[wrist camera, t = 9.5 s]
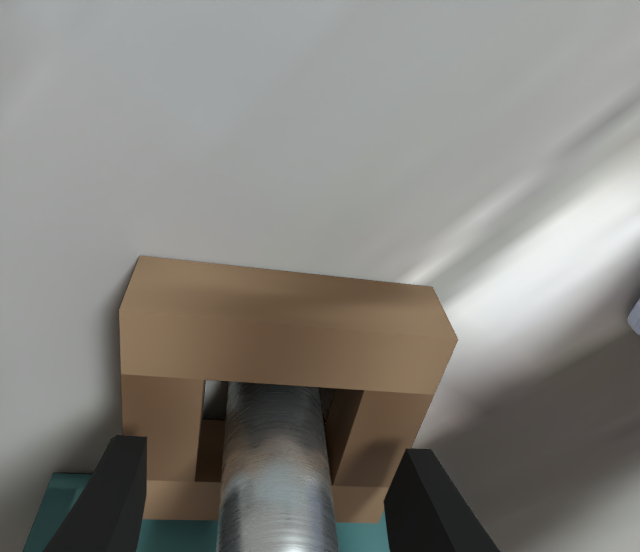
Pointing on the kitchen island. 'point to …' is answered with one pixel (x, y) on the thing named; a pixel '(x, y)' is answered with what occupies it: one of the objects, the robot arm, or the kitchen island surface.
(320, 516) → the pin
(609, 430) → the kitchen island surface
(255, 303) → the socket
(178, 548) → the tray
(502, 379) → the kitchen island surface
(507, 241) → the kitchen island surface
